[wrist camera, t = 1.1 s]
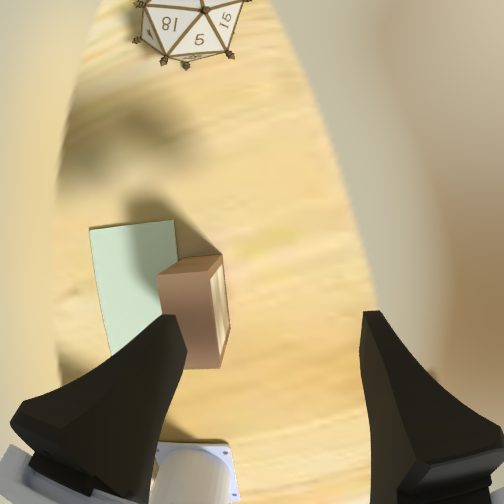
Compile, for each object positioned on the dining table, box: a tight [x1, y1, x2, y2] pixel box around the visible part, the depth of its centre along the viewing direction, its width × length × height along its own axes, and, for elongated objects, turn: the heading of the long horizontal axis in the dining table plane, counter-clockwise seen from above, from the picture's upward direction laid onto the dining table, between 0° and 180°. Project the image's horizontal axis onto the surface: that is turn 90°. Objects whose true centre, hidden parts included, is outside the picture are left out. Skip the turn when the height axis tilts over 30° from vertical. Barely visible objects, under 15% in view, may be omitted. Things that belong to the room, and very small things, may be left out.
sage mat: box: [89, 220, 178, 356], centre depth 25 cm, size 12×8×1 cm, turn 5°
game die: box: [132, 0, 252, 71], centre depth 19 cm, size 9×8×10 cm
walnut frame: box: [156, 254, 231, 369], centre depth 22 cm, size 6×3×7 cm, turn 5°
